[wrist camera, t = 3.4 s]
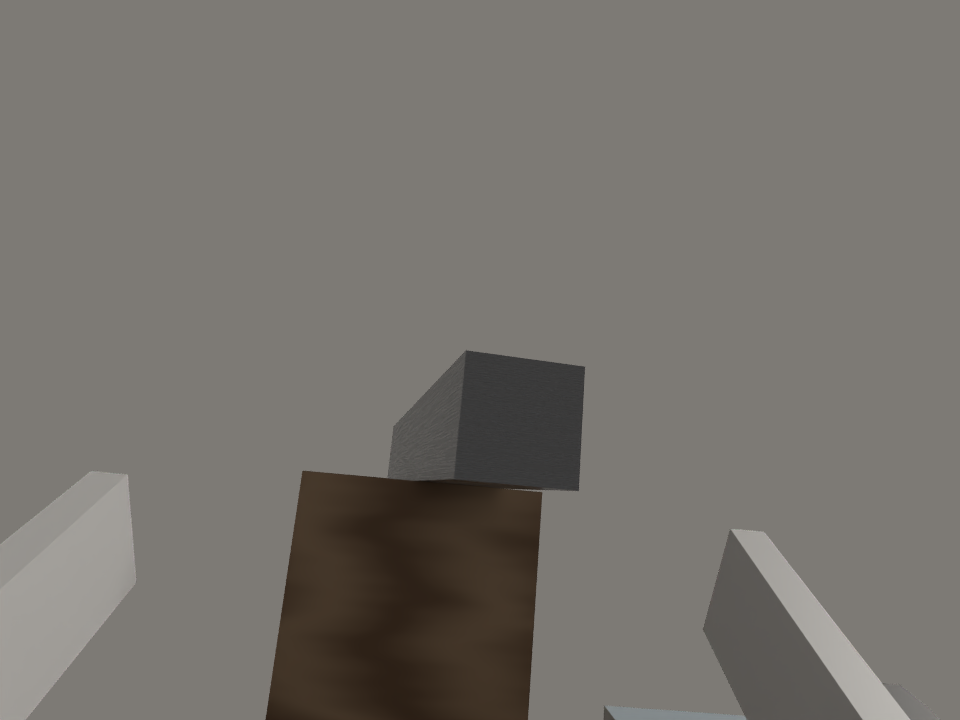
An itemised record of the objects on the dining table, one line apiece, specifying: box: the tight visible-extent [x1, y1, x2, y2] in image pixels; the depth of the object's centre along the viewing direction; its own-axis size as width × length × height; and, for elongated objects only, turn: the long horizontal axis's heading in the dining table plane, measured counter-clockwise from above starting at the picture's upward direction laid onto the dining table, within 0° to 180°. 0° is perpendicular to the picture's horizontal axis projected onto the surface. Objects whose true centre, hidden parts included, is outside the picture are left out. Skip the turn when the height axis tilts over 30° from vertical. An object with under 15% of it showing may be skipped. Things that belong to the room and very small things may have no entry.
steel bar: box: [388, 351, 585, 491], centre depth 29 cm, size 4×24×4 cm, turn 13°
